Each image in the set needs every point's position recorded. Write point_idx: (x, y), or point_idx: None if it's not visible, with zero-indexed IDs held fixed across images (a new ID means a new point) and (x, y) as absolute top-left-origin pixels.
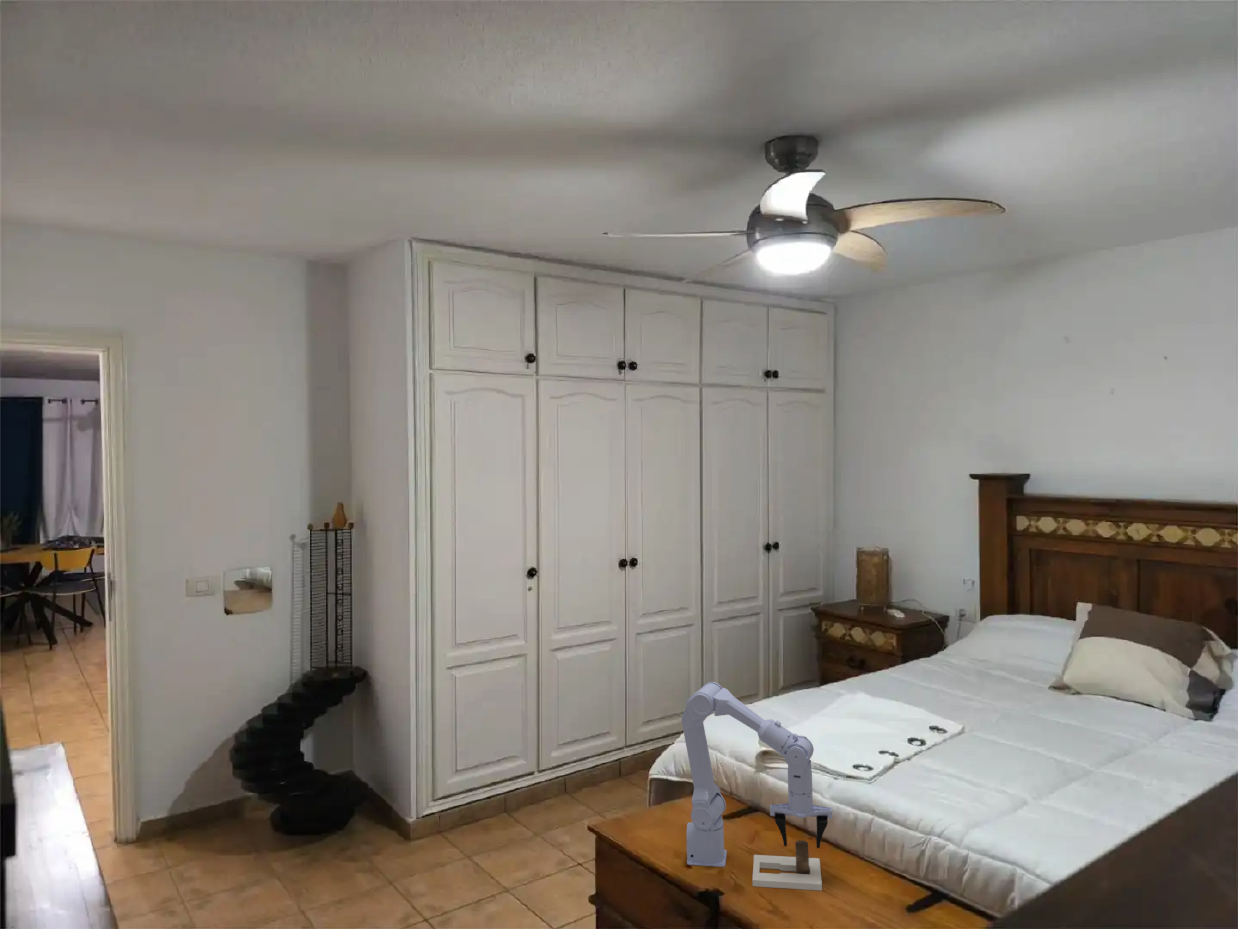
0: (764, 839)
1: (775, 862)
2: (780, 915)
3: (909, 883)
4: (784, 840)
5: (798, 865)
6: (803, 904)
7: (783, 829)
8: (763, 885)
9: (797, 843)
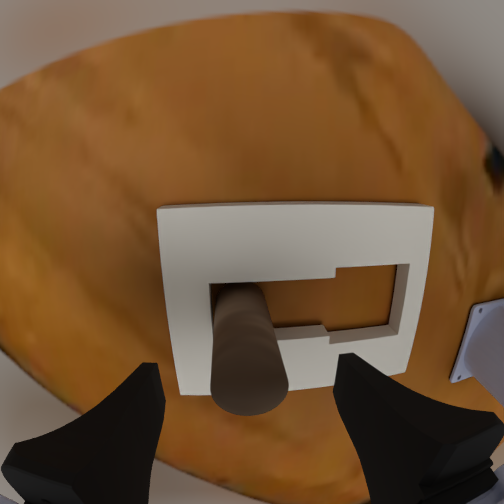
0: (344, 456)
1: (346, 346)
2: (324, 30)
3: None
4: (368, 367)
5: (261, 307)
6: (239, 100)
7: (413, 409)
8: (392, 203)
9: (276, 384)
